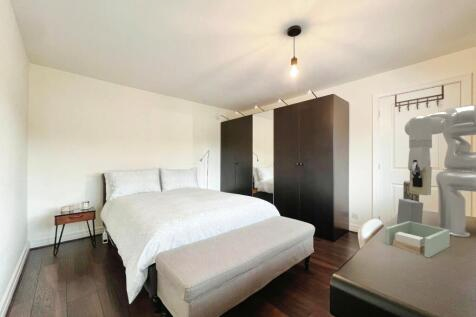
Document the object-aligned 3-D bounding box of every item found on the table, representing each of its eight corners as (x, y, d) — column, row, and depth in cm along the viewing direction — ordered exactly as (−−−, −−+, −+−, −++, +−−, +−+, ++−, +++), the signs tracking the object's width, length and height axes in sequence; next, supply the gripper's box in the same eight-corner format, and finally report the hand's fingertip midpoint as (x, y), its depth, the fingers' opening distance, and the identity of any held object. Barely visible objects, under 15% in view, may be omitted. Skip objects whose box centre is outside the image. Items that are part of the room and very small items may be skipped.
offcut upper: (399, 238, 89) (399, 231, 89) (423, 244, 82) (423, 237, 82) (395, 240, 87) (395, 233, 87) (419, 247, 80) (419, 239, 80)
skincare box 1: (408, 193, 92) (408, 166, 92) (414, 192, 94) (414, 166, 94) (426, 195, 86) (425, 166, 86) (432, 195, 88) (432, 166, 88)
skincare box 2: (396, 227, 112) (396, 198, 112) (408, 227, 112) (408, 198, 112) (410, 233, 103) (410, 201, 103) (423, 233, 104) (423, 201, 104)
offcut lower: (398, 244, 90) (399, 237, 90) (425, 252, 82) (425, 245, 82) (392, 246, 87) (392, 239, 87) (419, 255, 79) (419, 247, 79)
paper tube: (422, 228, 111) (422, 182, 112) (407, 227, 113) (408, 181, 113) (414, 224, 118) (414, 181, 118) (400, 223, 119) (400, 180, 120)
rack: (408, 235, 100) (408, 221, 100) (449, 246, 87) (449, 229, 88) (385, 243, 89) (385, 227, 89) (428, 257, 77) (428, 238, 77)
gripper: (417, 146, 98) (417, 184, 97) (400, 144, 89) (400, 186, 89) (439, 145, 91) (439, 186, 91) (423, 143, 83) (423, 188, 82)
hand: (420, 186), depth 90 cm, fingers closed on skincare box 1, 4 cm apart
